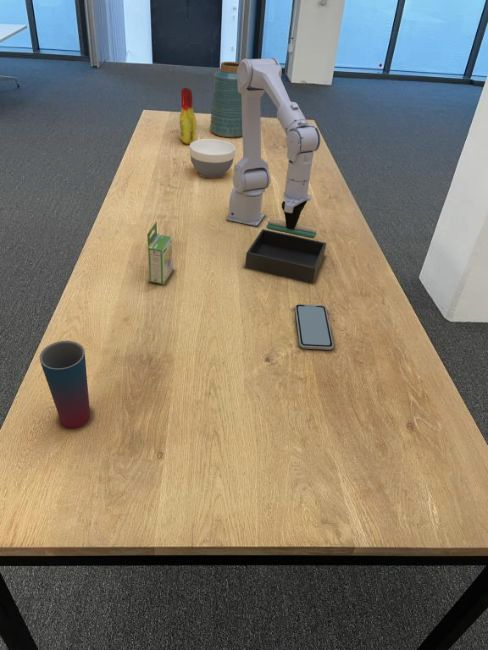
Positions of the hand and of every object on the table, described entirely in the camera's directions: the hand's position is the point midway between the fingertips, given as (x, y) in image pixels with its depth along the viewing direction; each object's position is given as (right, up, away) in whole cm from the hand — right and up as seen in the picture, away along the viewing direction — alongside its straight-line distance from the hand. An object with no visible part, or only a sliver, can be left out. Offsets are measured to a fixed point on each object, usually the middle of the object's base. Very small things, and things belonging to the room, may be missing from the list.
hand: (291, 226), depth 133 cm
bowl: (-24, +28, +47) cm, 60 cm away
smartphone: (+3, -27, -19) cm, 33 cm away
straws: (0, -1, +1) cm, 2 cm away
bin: (-1, -9, +2) cm, 9 cm away
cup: (-42, -43, -44) cm, 75 cm away
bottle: (-35, +49, +72) cm, 94 cm away
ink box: (-33, -14, -7) cm, 37 cm away
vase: (-19, +57, +84) cm, 103 cm away
